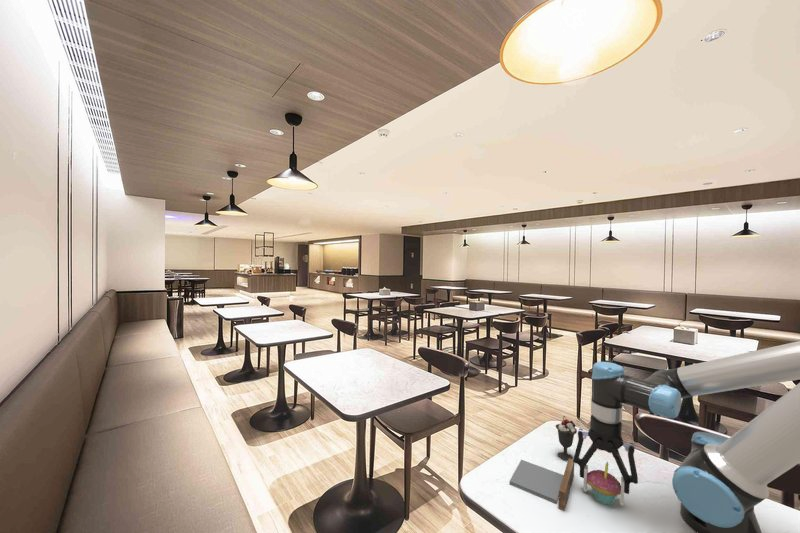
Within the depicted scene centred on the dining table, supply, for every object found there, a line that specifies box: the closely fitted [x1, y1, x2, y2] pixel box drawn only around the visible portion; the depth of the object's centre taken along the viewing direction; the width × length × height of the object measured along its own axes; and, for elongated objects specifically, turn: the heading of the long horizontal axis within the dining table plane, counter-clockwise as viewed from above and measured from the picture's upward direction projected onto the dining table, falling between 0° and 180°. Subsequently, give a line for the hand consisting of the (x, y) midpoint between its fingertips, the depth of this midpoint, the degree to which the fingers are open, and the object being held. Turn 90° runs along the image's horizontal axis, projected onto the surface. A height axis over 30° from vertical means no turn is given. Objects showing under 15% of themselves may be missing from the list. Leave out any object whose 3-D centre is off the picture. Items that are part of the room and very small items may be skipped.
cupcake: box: [587, 461, 621, 505], centre depth 92 cm, size 9×8×12 cm
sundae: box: [555, 415, 578, 462], centre depth 111 cm, size 7×7×15 cm
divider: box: [557, 458, 575, 512], centre depth 95 cm, size 2×18×5 cm, turn 144°
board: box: [509, 459, 564, 505], centre depth 99 cm, size 13×13×1 cm
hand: (603, 495), depth 92 cm, fingers closed on cupcake, 8 cm apart
